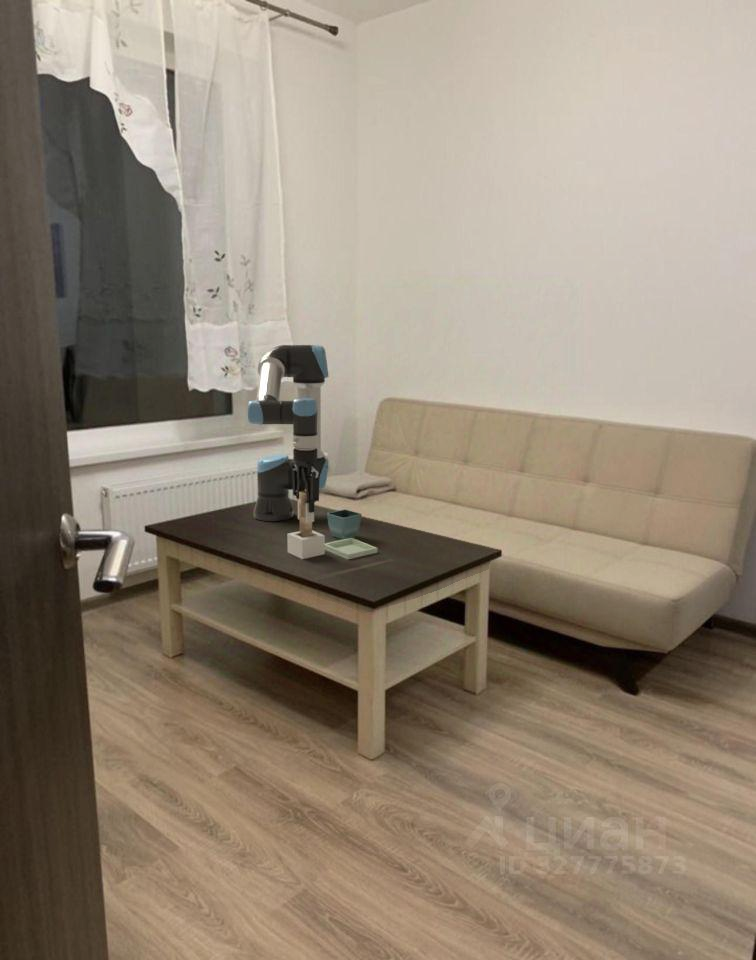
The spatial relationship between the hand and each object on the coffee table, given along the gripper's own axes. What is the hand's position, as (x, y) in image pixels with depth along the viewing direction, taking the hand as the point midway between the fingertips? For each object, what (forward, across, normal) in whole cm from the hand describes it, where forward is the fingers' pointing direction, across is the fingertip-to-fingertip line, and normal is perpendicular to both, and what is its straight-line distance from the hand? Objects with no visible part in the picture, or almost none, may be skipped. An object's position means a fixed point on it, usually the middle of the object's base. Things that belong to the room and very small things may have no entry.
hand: (305, 519), depth 240 cm
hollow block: (+12, 0, 0) cm, 12 cm away
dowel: (+7, 0, 0) cm, 7 cm away
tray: (+12, +6, +13) cm, 18 cm away
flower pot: (+12, -8, +21) cm, 25 cm away
